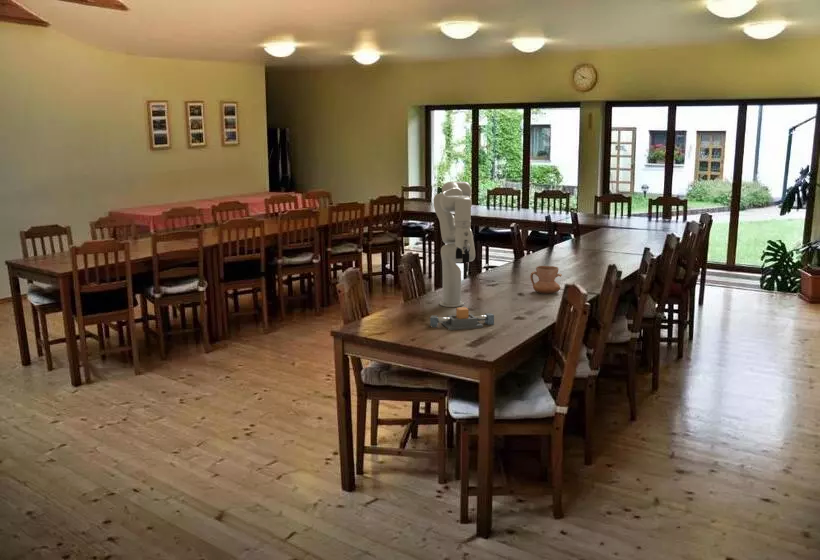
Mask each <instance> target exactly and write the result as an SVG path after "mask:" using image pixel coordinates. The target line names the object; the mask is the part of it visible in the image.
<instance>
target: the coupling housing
mask: <svg viewBox="0 0 820 560" xmlns="http://www.w3.org/2000/svg"><path fill="white" fill-rule="evenodd" d="M475 316H476V315H474V314H472V313H469V317H471V318H466V319H454V318H456V314H452V315H447V317H446V318H450V323H441V324H442V325H443V326H444V327H445V328H446V327H447V328H448V329H449V330H448V329H447V328H446V329H447V330H448V331H456V330H457V331H458V330H459V331H460V330H470V329H471V330H472V329H481V328H483V327H484V325H483V324H482V323H481V322H480V321H477V318H476V317H475Z"/></svg>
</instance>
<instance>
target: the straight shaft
mask: <svg viewBox="0 0 820 560" xmlns="http://www.w3.org/2000/svg"><path fill="white" fill-rule="evenodd" d="M474 316H475V317H476V318H477V321H478V322H481V321H484V324H486V325H488V326H491V325H492V326H493V325H495V314H493V313H492V312H488V313H484V314H483V315H482V314H481V315H480V314H479V315H474Z"/></svg>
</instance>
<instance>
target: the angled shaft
mask: <svg viewBox="0 0 820 560" xmlns="http://www.w3.org/2000/svg"><path fill="white" fill-rule="evenodd" d="M429 319H430V320H429V324H430V325H429V326H432V327H431V328H437V327H438V326H439V323H441V324H442V323H450V318H447V317H443V316H442V317H439V315H431V316H430V318H429ZM437 325H438V326H437Z"/></svg>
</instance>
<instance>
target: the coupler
mask: <svg viewBox="0 0 820 560" xmlns="http://www.w3.org/2000/svg"><path fill="white" fill-rule="evenodd" d="M455 308H456V311H455V313H456V314H455V315H456V318H454V319H466V318H471V317H469V314H470V313H469V308H467V307H466V306H464V307H463V306H459V307H455Z"/></svg>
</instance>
